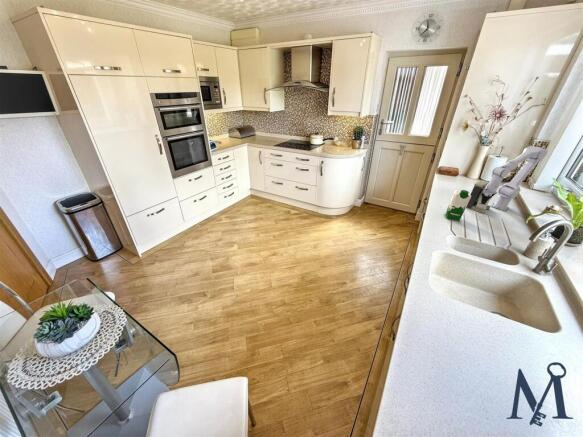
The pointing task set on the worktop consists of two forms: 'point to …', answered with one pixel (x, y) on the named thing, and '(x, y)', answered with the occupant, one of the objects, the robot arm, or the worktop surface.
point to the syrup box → (479, 205)
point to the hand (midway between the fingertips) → (484, 202)
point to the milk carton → (458, 205)
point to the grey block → (477, 196)
